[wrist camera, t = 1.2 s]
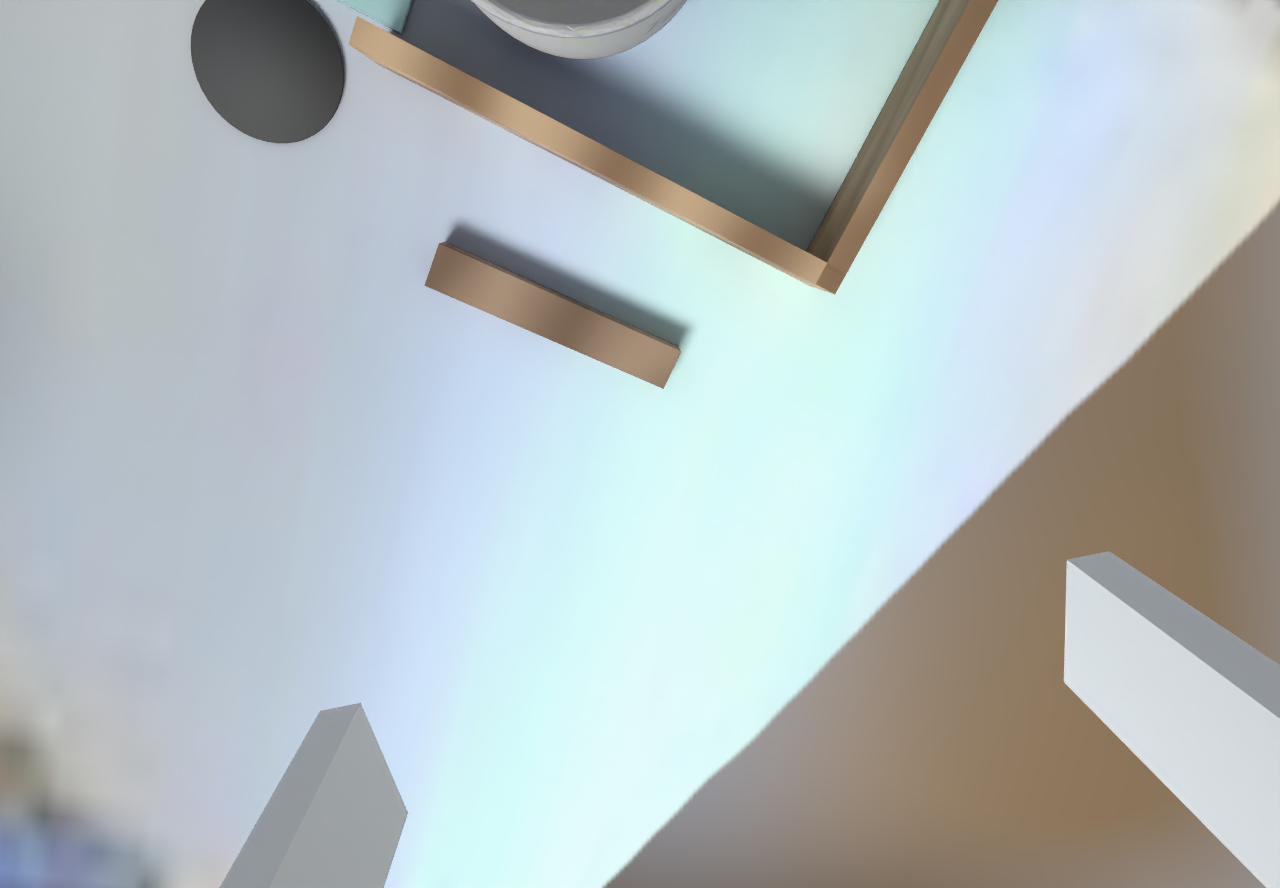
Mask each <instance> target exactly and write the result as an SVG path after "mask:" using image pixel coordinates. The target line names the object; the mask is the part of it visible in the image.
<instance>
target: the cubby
mask: <svg viewBox="0 0 1280 888" xmlns="http://www.w3.org/2000/svg"><path fill="white" fill-rule="evenodd" d="M997 2H998V0H940V1H939V3H938V5H937V7H936V9H935V11H934V13H933V14H932V16H931V18H930V20H929V22H928V24H927V26H926V28H925V29H924V31H923V33H922V35H921V37H920V39H919V41H918V43H917V44H916V46H915V48H914V50H913V52H912V54H911V56H910V58H909V60H908V61H907V63H906V65H905V67H904V69H903V71H902V73H901V75H900V76H899V78H898V80H897V82H896V84H895V86H894V88H893V90H892V91H891V93H890V95H889V97H888V99H887V101H886V103H885V105H884V107H883V108H882V110H881V112H880V114H879V116H878V118H877V120H876V122H875V123H874V125H873V127H872V129H871V131H870V133H869V135H868V137H867V138H866V140H865V142H864V144H863V146H862V148H861V150H860V152H859V153H858V155H857V157H856V159H855V161H854V163H853V165H852V167H851V169H850V170H849V172H848V174H847V176H846V178H845V180H844V182H843V184H842V185H841V187H840V189H839V191H838V193H837V195H836V197H835V199H834V200H833V202H832V204H831V206H830V208H829V210H828V212H827V214H826V215H825V217H824V219H823V221H822V223H821V225H820V227H819V229H818V231H817V232H816V234H815V236H814V238H813V240H812V242H811V244H810V246H809V247H808V249H807V251H804V250H802V249H800V248H798V247H796V246H794V245H792V244H791V243H789V242H787V241H785V240H783V239H781V238H779V237H777V236H775V235H773V234H771V233H770V232H768V231H766V230H764V229H762V228H760V227H758V226H756V225H754V224H752V223H750V222H749V221H747V220H745V219H743V218H741V217H739V216H737V215H735V214H733V213H731V212H730V211H728V210H726V209H724V208H722V207H720V206H718V205H716V204H714V203H712V202H710V201H709V200H707V199H705V198H703V197H701V196H699V195H697V194H695V193H693V192H691V191H689V190H688V189H686V188H684V187H682V186H680V185H678V184H676V183H674V182H672V181H670V180H668V179H667V178H665V177H663V176H661V175H659V174H657V173H655V172H653V171H651V170H649V169H648V168H646V167H644V166H642V165H640V164H638V163H636V162H634V161H632V160H630V159H628V158H627V157H625V156H623V155H621V154H619V153H617V152H615V151H613V150H611V149H609V148H607V147H606V146H604V145H602V144H600V143H598V142H596V141H594V140H592V139H590V138H588V137H586V136H585V135H583V134H581V133H579V132H577V131H575V130H573V129H571V128H569V127H567V126H566V125H564V124H562V123H560V122H558V121H556V120H554V119H552V118H550V117H548V116H546V115H545V114H543V113H541V112H539V111H537V110H535V109H533V108H531V107H529V106H527V105H525V104H524V103H522V102H520V101H518V100H516V99H514V98H512V97H510V96H508V95H506V94H504V93H503V92H501V91H499V90H497V89H495V88H493V87H491V86H489V85H487V84H485V83H484V82H482V81H480V80H478V79H476V78H474V77H472V76H470V75H468V74H466V73H464V72H463V71H461V70H459V69H457V68H455V67H453V66H451V65H449V64H447V63H445V62H443V61H442V60H440V59H438V58H436V57H434V56H432V55H430V54H428V53H426V52H424V51H422V50H421V49H419V48H417V47H415V46H413V45H411V44H409V43H407V42H405V41H403V40H402V39H400V38H398V37H396V36H394V35H392V34H390V33H388V32H386V31H384V30H382V29H381V28H379V27H377V26H375V25H373V24H371V23H369V22H367V21H365V20H363V19H361V18H360V17H358V16H357V18H356V22H355V25H354V28H353V32H352V35H351V38H350V42H349V45H351V46H352V47H354V48H355V49H357V50H358V51H360V52H361V53H363V54H364V55H365V56H367V57H368V58H370V59H371V60H373V61H374V62H376V63H377V64H379V65H381V66H383V67H385V68H387V69H389V70H390V71H392V72H394V73H396V74H398V75H400V76H402V77H404V78H406V79H408V80H410V81H412V82H414V83H416V84H418V85H420V86H422V87H424V88H426V89H428V90H429V91H431V92H433V93H435V94H437V95H439V96H441V97H443V98H445V99H447V100H449V101H451V102H453V103H455V104H457V105H459V106H461V107H463V108H465V109H466V110H468V111H470V112H472V113H474V114H476V115H478V116H480V117H482V118H484V119H486V120H488V121H490V122H492V123H494V124H496V125H498V126H500V127H502V128H504V129H505V130H507V131H509V132H511V133H513V134H515V135H517V136H519V137H521V138H523V139H525V140H527V141H529V142H531V143H533V144H535V145H537V146H539V147H541V148H542V149H544V150H546V151H548V152H550V153H552V154H554V155H556V156H558V157H560V158H562V159H564V160H566V161H568V162H570V163H572V164H574V165H576V166H578V167H580V168H581V169H583V170H585V171H587V172H589V173H591V174H593V175H595V176H597V177H599V178H601V179H603V180H605V181H607V182H609V183H611V184H613V185H615V186H617V187H618V188H620V189H622V190H624V191H626V192H628V193H630V194H632V195H634V196H636V197H638V198H640V199H642V200H644V201H646V202H648V203H650V204H652V205H654V206H656V207H657V208H659V209H661V210H663V211H665V212H667V213H669V214H671V215H673V216H675V217H677V218H679V219H681V220H683V221H685V222H687V223H689V224H691V225H693V226H695V227H696V228H698V229H700V230H702V231H704V232H706V233H708V234H710V235H712V236H714V237H716V238H718V239H720V240H722V241H724V242H726V243H728V244H730V245H732V246H733V247H735V248H737V249H739V250H741V251H743V252H745V253H747V254H749V255H751V256H753V257H755V258H757V259H759V260H761V261H763V262H765V263H767V264H769V265H771V266H772V267H774V268H776V269H778V270H780V271H782V272H784V273H786V274H788V275H790V276H792V277H794V278H796V279H798V280H800V281H802V282H804V283H806V284H808V285H809V286H812V287H815V288H818V289H821V290H824V291H827V292H830V293H833V294H835V293H836V291H837V290H838V288H839V286H840V284H841V282H842V281H843V279H844V277H845V275H846V273H847V272H848V270H849V268H850V266H851V264H852V263H853V261H854V259H855V257H856V255H857V254H858V252H859V250H860V248H861V246H862V245H863V243H864V241H865V239H866V237H867V236H868V234H869V232H870V230H871V228H872V227H873V225H874V223H875V221H876V219H877V218H878V216H879V214H880V212H881V210H882V209H883V207H884V205H885V203H886V201H887V200H888V198H889V196H890V194H891V192H892V191H893V189H894V187H895V185H896V183H897V182H898V180H899V178H900V176H901V174H902V173H903V171H904V169H905V167H906V165H907V164H908V162H909V160H910V158H911V156H912V155H913V153H914V151H915V149H916V147H917V146H918V144H919V142H920V140H921V138H922V137H923V135H924V133H925V131H926V129H927V128H928V126H929V124H930V122H931V120H932V119H933V117H934V115H935V113H936V111H937V110H938V108H939V106H940V104H941V102H942V101H943V99H944V97H945V95H946V93H947V92H948V90H949V88H950V86H951V84H952V83H953V81H954V79H955V77H956V75H957V74H958V72H959V70H960V68H961V66H962V65H963V63H964V61H965V59H966V57H967V56H968V54H969V52H970V50H971V48H972V47H973V45H974V43H975V41H976V39H977V38H978V36H979V34H980V32H981V30H982V29H983V27H984V25H985V23H986V21H987V20H988V18H989V16H990V14H991V12H992V11H993V9H994V7H995V5H996V3H997Z"/></svg>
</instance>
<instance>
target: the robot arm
mask: <svg viewBox="0 0 1280 888" xmlns="http://www.w3.org/2000/svg"><path fill="white" fill-rule="evenodd" d="M1065 624H1066V625H1065V663H1064V682H1065V683H1066V684H1067V686H1068V687H1070V689H1071V690H1072V691H1074V693H1076V695H1077V696H1078V697H1079V698H1080V699H1081V700H1082V701H1083V702H1084V703H1085V704H1086V705H1087V706H1088V707H1089V708H1090V709H1091V710H1092V711H1093V712H1094V713H1095V714H1096V715H1097V716H1098V717H1099V718H1100V719H1101V720H1102V721H1103V722H1104V723H1105V724H1106V725H1107V726H1108V727H1109V728H1110V729H1111V730H1112V731H1113V732H1114V733H1115V734H1116V735H1117V736H1118V737H1119V738H1120V739H1121V740H1122V741H1123V742H1124V743H1125V744H1126V745H1127V746H1128V747H1129V748H1130V750H1132V752H1133V753H1134V754H1136V756H1138V758H1139V759H1140V760H1141V761H1142V762H1143V763H1144V764H1145V765H1146V766H1148V768H1149V769H1150V770H1151V771H1152V772H1153V773H1154V774H1155V775H1156V776H1157V777H1158V778H1159V779H1160V780H1161V781H1162V782H1163V783H1164V784H1165V785H1166V786H1167V787H1168V788H1169V789H1170V790H1171V791H1172V792H1173V793H1174V794H1175V795H1176V796H1177V797H1178V798H1179V799H1180V800H1181V801H1182V802H1183V803H1184V804H1185V805H1186V806H1187V807H1188V808H1189V809H1190V810H1191V812H1192V813H1194V814H1195V815H1196V816H1197V818H1198V819H1199V820H1200V821H1202V823H1203V824H1204V825H1205V826H1206V827H1207V828H1208V829H1209V830H1210V831H1211V832H1212V833H1213V834H1214V835H1215V836H1216V837H1217V838H1218V839H1219V840H1220V841H1221V842H1222V843H1223V844H1224V845H1225V846H1226V847H1227V848H1228V849H1229V850H1230V851H1231V852H1232V853H1233V854H1234V855H1235V856H1236V857H1237V858H1238V859H1239V860H1240V861H1241V862H1242V863H1243V864H1244V865H1245V866H1246V867H1247V868H1248V869H1249V870H1250V871H1251V872H1252V874H1254V876H1255V877H1256V878H1257V879H1259V881H1260V882H1261V883H1262V884H1263V885H1264V886H1265V887H1266V888H1280V665H1278V664H1277V663H1275V662H1274V661H1272V660H1271V659H1270V658H1268V657H1266V656H1265V655H1264V654H1262V653H1260V652H1259V651H1258V650H1256V649H1255V648H1253V647H1251V646H1250V645H1249V644H1247V643H1245V642H1244V641H1242V640H1241V639H1240V638H1238V637H1236V636H1235V635H1234V634H1232V633H1231V632H1229V631H1227V630H1226V629H1225V628H1223V627H1221V626H1220V625H1219V624H1217V623H1215V622H1214V621H1213V620H1211V619H1209V618H1208V617H1207V616H1205V615H1204V614H1202V613H1200V612H1199V611H1198V610H1196V609H1195V608H1193V607H1191V606H1190V605H1189V604H1187V603H1185V602H1184V601H1183V600H1181V599H1179V598H1178V597H1177V596H1175V595H1174V594H1172V593H1171V592H1169V591H1168V590H1166V589H1165V588H1163V587H1162V586H1160V585H1159V584H1157V583H1156V582H1154V581H1153V580H1151V579H1150V578H1148V577H1147V576H1145V575H1144V574H1142V573H1141V572H1139V571H1138V570H1136V569H1135V568H1133V567H1132V566H1130V565H1129V564H1127V563H1126V562H1124V561H1123V560H1121V559H1120V558H1118V557H1117V556H1115V555H1114V554H1112V553H1111V552H1109V551H1108V552H1103V553H1098V554H1094V555H1089V556H1084V557H1079V558H1074V559H1069V560H1067V582H1066V622H1065ZM407 814H408V812H407V810H406V807H405V805H404V803H403V800H402V798H401V796H400V793H399V791H398V789H397V786H396V784H395V782H394V779H393V777H392V775H391V772H390V770H389V768H388V766H387V763H386V761H385V759H384V756H383V754H382V752H381V749H380V747H379V745H378V742H377V740H376V738H375V735H374V733H373V731H372V728H371V726H370V724H369V721H368V719H367V717H366V714H365V712H364V710H363V707H362V705H361V703H358V704H353V705H348V706H343V707H338V708H333V709H328V710H324V711H320V712H319V714H318V716H317V718H316V719H315V721H314V723H313V725H312V726H311V728H310V730H309V732H308V733H307V735H306V737H305V739H304V740H303V742H302V744H301V746H300V747H299V749H298V751H297V753H296V755H295V756H294V758H293V760H292V762H291V763H290V765H289V767H288V769H287V770H286V772H285V774H284V776H283V777H282V779H281V781H280V783H279V784H278V786H277V788H276V790H275V791H274V793H273V795H272V797H271V798H270V800H269V802H268V804H267V806H266V807H265V809H264V811H263V813H262V814H261V816H260V818H259V820H258V821H257V823H256V825H255V827H254V828H253V830H252V832H251V834H250V835H249V837H248V839H247V841H246V842H245V844H244V846H243V848H242V850H241V851H240V853H239V855H238V857H237V858H236V860H235V862H234V864H233V865H232V867H231V869H230V871H229V872H228V874H227V876H226V878H225V879H224V881H223V883H222V885H221V886H220V888H384V885H385V882H386V879H387V876H388V872H389V869H390V866H391V863H392V860H393V857H394V854H395V851H396V848H397V845H398V842H399V839H400V836H401V833H402V830H403V826H404V823H405V820H406V817H407Z"/></svg>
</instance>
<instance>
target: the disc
mask: <svg viewBox="0 0 1280 888" xmlns="http://www.w3.org/2000/svg"><path fill="white" fill-rule="evenodd" d="M191 55H192V62H193V67H194V71H195V74H196V77H197V80H198V82H199V84H200V86H201V89H202V91H203V92H204V94H205V96H206V97H207V99H208V101H209V102H210V103H211V105H212V106H213V107H214V109H215V110H216V111H217V112H218V113H219V114H220V115H221V116H222V117H223V118H224V119H225V120H226V121H227V122H228V123H230V124H231V125H232V126H234V127H235V128H237V129H238V130H240V131H241V132H243V133H245V134H247V135H249V136H251V137H254V138H256V139H260V140H263V141H267V142H273V143H292V142H298V141H301V140H304V139H307V138H309V137H311V136H313V135H315V134H316V133H318V132H319V131H320V130H322V129H323V128H324V127H325V126H326V125H327V124H328V122H329V121H330V120H331V118H332V117H333V115H334V114H335V112H336V110H337V108H338V105H339V103H340V100H341V96H342V91H343V82H344V75H343V64H342V58H341V54H340V51H339V47H338V45H337V42H336V40H335V37H334V36H333V34H332V32H331V30H330V28H329V26H328V25H327V23H326V22H325V20H324V19H323V18H322V16H321V15H320V14H319V13H318V12H317V10H316V9H315V8H314V7H313V6H312V5H310V4H309V3H308V2H307V1H306V0H206V1H205V2H204V4H203V5H202V6H201V8H200V10H199V12H198V14H197V16H196V18H195V22H194V25H193V29H192V35H191Z"/></svg>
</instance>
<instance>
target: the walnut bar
mask: <svg viewBox="0 0 1280 888" xmlns="http://www.w3.org/2000/svg"><path fill="white" fill-rule="evenodd" d="M425 286H427V287H429V288H432V289H434V290H436V291H439V292H441V293H443V294H446V295H448V296H450V297H452V298H455V299H457V300H459V301H462V302H464V303H466V304H469V305H471V306H473V307H476V308H478V309H480V310H483V311H485V312H487V313H489V314H492V315H494V316H496V317H499V318H501V319H503V320H506V321H508V322H510V323H513V324H515V325H517V326H520V327H522V328H524V329H527V330H529V331H531V332H533V333H536V334H538V335H540V336H543V337H545V338H547V339H550V340H552V341H554V342H557V343H559V344H561V345H564V346H566V347H568V348H570V349H573V350H575V351H577V352H580V353H582V354H584V355H587V356H589V357H591V358H594V359H596V360H598V361H601V362H603V363H605V364H607V365H610V366H612V367H614V368H617V369H619V370H621V371H624V372H626V373H628V374H631V375H633V376H635V377H638V378H640V379H642V380H645V381H647V382H649V383H651V384H654V385H656V386H658V387H661V388H663V389H664V387H665V384H666V382H667V380H668V378H669V376H670V374H671V372H672V370H673V368H674V366H675V364H676V361H677V359H678V357H679V355H680V353H681V350H680V349H679V347H678V346H676V345H674V344H671V343H669V342H667V341H665V340H663V339H660V338H658V337H656V336H654V335H651V334H649V333H647V332H645V331H642V330H640V329H638V328H636V327H634V326H631V325H629V324H627V323H625V322H622V321H620V320H618V319H616V318H613V317H611V316H609V315H607V314H604V313H602V312H600V311H598V310H596V309H593V308H591V307H589V306H587V305H584V304H582V303H580V302H578V301H575V300H573V299H571V298H569V297H567V296H564V295H562V294H560V293H558V292H555V291H553V290H551V289H549V288H546V287H544V286H542V285H540V284H537V283H535V282H533V281H531V280H529V279H526V278H524V277H522V276H520V275H517V274H515V273H513V272H511V271H508V270H506V269H504V268H502V267H500V266H497V265H495V264H493V263H491V262H488V261H486V260H484V259H482V258H479V257H477V256H475V255H473V254H470V253H468V252H466V251H464V250H462V249H459V248H457V247H455V246H453V245H450V244H448V243H446V242H444V243H439V245H438V248H437V251H436V254H435V257H434V260H433V263H432V266H431V268H430V271H429V274H428V277H427V280H426V283H425Z"/></svg>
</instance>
